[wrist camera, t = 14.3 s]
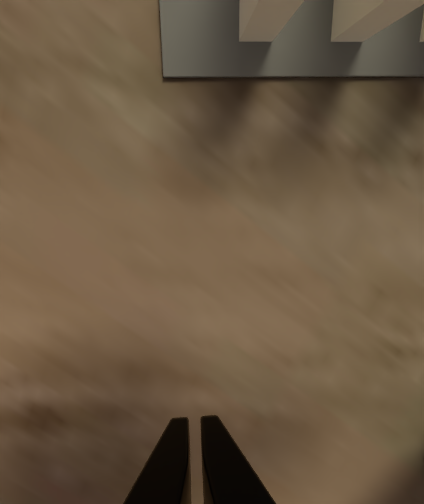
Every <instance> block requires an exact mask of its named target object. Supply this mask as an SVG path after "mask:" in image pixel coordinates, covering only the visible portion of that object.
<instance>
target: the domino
mask: <svg viewBox="0 0 424 504" xmlns="http://www.w3.org/2000/svg"><path fill="white" fill-rule="evenodd" d="M419 42H424V12H423V19H422V27H421V34H420V41H419Z"/></svg>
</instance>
